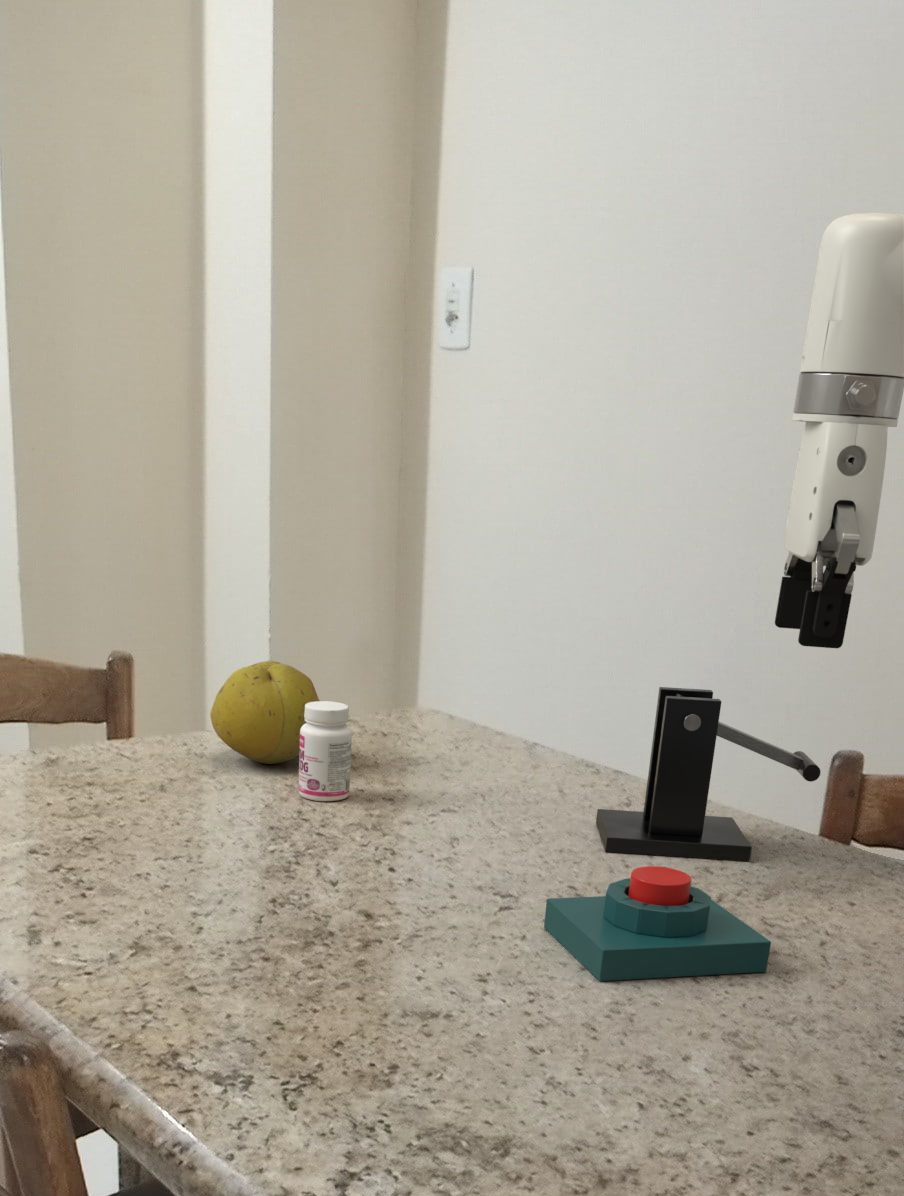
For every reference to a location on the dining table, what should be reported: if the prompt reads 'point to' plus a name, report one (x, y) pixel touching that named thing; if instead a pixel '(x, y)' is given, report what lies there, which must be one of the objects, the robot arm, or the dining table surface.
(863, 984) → the dining table surface
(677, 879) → the stop button
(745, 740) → the switch lever
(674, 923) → the button block
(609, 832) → the switch bracket
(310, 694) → the fruit
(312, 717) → the pill bottle
